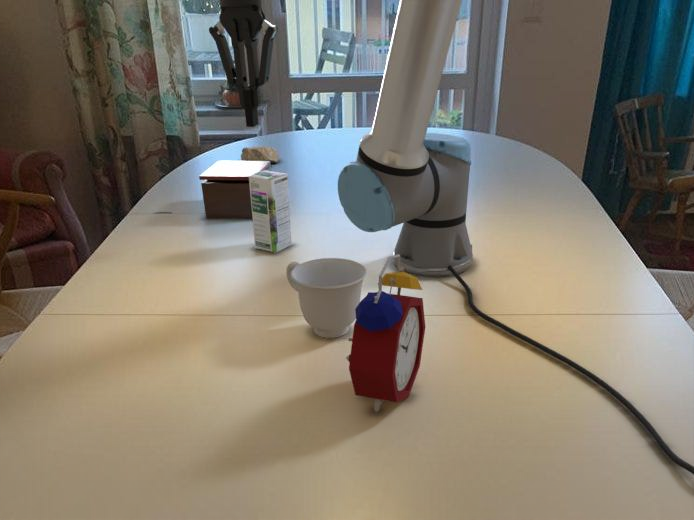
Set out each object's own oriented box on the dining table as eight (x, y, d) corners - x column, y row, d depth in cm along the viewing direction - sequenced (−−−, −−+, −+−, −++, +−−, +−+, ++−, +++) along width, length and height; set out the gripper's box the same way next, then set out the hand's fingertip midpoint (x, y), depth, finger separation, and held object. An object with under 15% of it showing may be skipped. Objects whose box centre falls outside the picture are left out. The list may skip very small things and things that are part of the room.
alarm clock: (392, 424, 98) (395, 281, 86) (332, 413, 101) (327, 272, 88) (424, 373, 109) (431, 239, 97) (369, 364, 111) (369, 232, 99)
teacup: (314, 304, 129) (311, 248, 123) (382, 326, 121) (382, 268, 115) (266, 329, 122) (261, 270, 116) (335, 354, 114) (333, 293, 108)
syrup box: (254, 248, 152) (246, 175, 143) (271, 240, 156) (265, 168, 147) (275, 253, 149) (269, 179, 140) (293, 244, 153) (288, 172, 144)
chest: (259, 219, 167) (256, 183, 162) (205, 218, 168) (201, 183, 163) (273, 198, 179) (270, 164, 174) (223, 197, 180) (219, 164, 176)
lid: (255, 180, 161) (254, 176, 160) (199, 179, 162) (199, 176, 162) (270, 164, 174) (270, 161, 174) (218, 164, 176) (218, 160, 175)
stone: (242, 159, 209) (240, 142, 207) (279, 158, 210) (277, 141, 207) (240, 167, 203) (238, 149, 200) (277, 166, 203) (276, 148, 200)
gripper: (280, -23, 131) (290, 122, 145) (213, -21, 134) (229, 120, 148) (265, -20, 125) (277, 130, 139) (195, -18, 128) (214, 128, 142)
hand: (252, 125), depth 144 cm, fingers closed
